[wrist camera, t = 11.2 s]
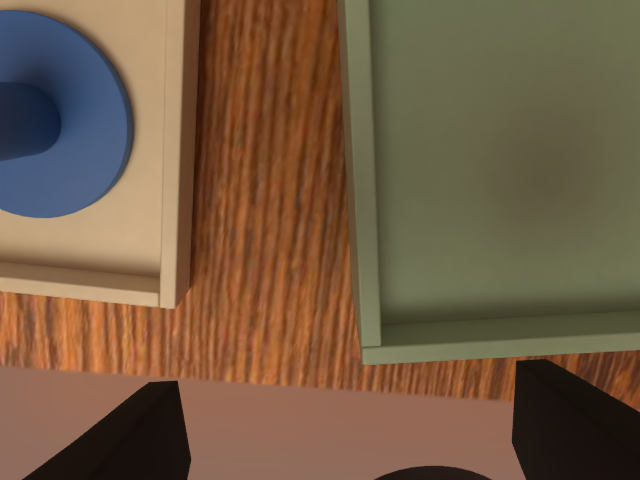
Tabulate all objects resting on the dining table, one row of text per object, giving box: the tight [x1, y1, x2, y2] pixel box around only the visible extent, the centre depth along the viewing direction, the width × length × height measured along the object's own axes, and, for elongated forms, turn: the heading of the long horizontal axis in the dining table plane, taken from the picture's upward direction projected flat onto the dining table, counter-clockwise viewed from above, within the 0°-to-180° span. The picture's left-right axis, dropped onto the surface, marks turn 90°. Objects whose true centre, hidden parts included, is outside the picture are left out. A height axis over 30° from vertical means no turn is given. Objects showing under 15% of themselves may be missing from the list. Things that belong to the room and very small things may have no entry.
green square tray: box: [337, 0, 640, 365], centre depth 16 cm, size 11×11×6 cm
